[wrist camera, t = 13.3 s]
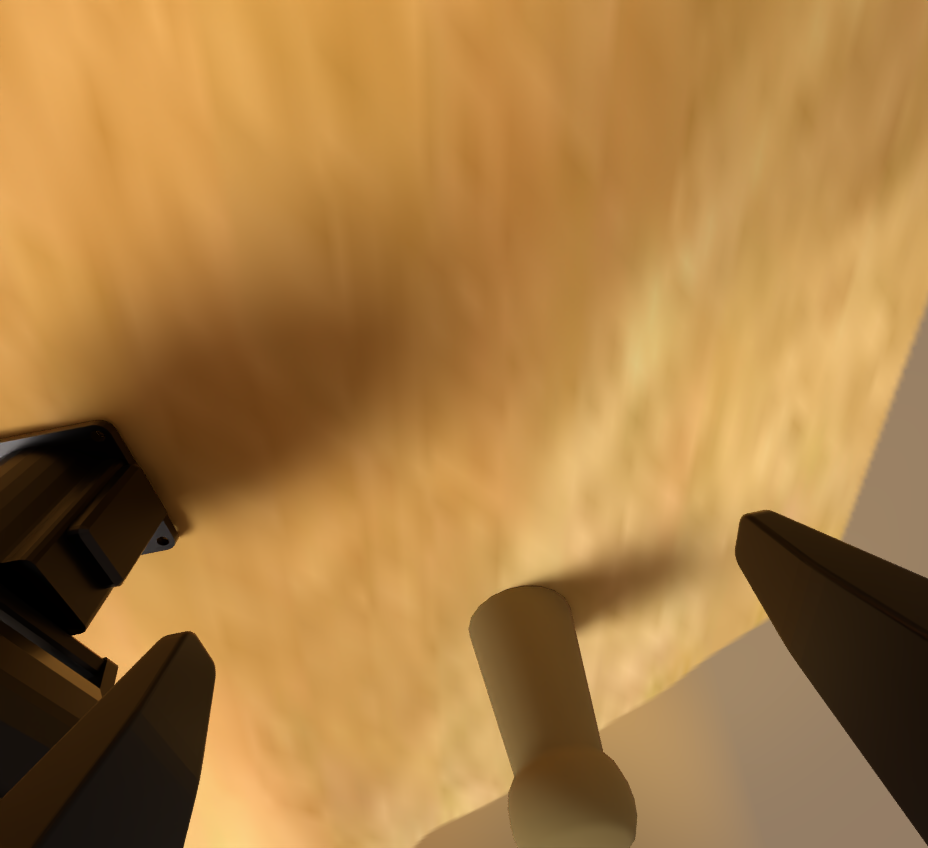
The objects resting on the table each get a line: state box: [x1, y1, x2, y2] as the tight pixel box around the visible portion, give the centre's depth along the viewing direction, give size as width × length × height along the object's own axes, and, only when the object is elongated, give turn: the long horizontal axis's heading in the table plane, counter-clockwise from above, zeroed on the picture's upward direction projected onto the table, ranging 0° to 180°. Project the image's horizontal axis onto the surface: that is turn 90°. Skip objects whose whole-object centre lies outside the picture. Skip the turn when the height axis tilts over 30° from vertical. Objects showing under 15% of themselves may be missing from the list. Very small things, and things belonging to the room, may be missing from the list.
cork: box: [469, 586, 637, 848], centre depth 23 cm, size 6×6×11 cm
